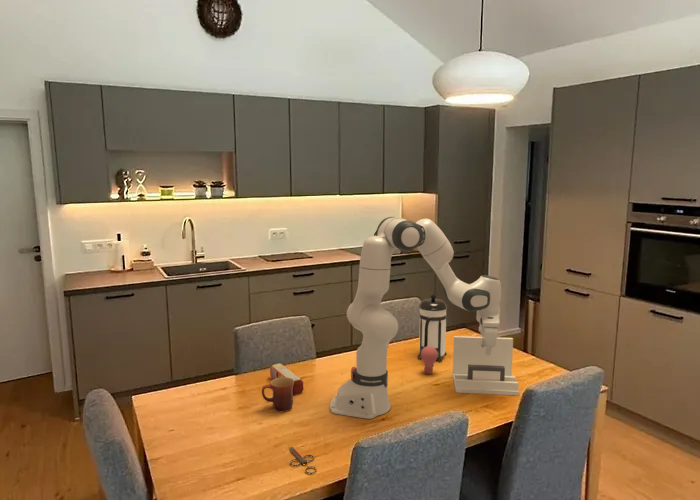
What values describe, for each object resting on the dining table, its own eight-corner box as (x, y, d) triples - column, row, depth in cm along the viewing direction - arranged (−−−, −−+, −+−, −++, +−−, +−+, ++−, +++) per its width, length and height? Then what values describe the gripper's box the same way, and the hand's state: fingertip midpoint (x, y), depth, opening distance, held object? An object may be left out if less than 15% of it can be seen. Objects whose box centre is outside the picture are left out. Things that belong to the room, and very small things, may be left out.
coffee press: (408, 353, 244) (409, 292, 239) (439, 349, 248) (440, 289, 244) (424, 366, 227) (425, 301, 223) (456, 362, 232) (458, 298, 227)
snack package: (269, 378, 217) (268, 363, 216) (283, 375, 220) (283, 360, 219) (289, 397, 199) (288, 381, 197) (304, 394, 202) (304, 377, 201)
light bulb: (436, 370, 224) (437, 343, 222) (437, 376, 217) (438, 349, 215) (420, 369, 224) (420, 343, 222) (420, 376, 217) (421, 349, 215)
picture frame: (467, 386, 204) (468, 367, 203) (467, 383, 207) (467, 364, 205) (504, 387, 202) (504, 368, 201) (502, 384, 205) (503, 365, 204)
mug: (292, 401, 195) (292, 376, 193) (296, 411, 187) (296, 385, 185) (261, 405, 192) (260, 379, 190) (263, 416, 184) (262, 389, 182)
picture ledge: (455, 392, 202) (456, 350, 199) (452, 375, 218) (453, 335, 215) (518, 395, 199) (520, 352, 196) (510, 377, 215) (512, 337, 213)
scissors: (298, 443, 166) (298, 438, 166) (325, 471, 151) (325, 466, 151) (276, 450, 162) (276, 445, 162) (301, 480, 147) (301, 474, 147)
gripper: (476, 309, 210) (475, 341, 212) (483, 323, 190) (481, 359, 192) (492, 309, 209) (490, 342, 212) (500, 324, 189) (498, 360, 192)
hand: (486, 350), depth 202 cm, fingers open, 8 cm apart
